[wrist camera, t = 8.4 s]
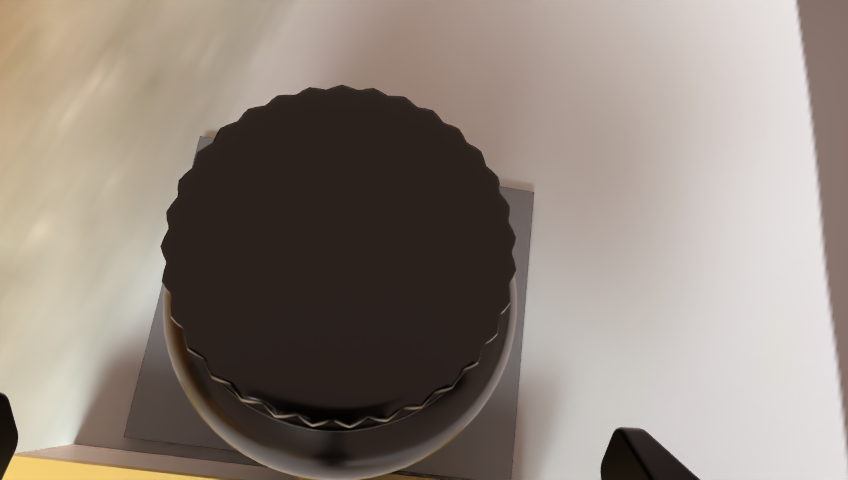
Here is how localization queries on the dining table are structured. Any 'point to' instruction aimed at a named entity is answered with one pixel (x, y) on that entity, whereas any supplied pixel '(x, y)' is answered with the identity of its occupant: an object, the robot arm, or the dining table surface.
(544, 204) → the dining table surface
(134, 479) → the rail
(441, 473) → the shelf mat
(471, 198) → the supplement bottle
